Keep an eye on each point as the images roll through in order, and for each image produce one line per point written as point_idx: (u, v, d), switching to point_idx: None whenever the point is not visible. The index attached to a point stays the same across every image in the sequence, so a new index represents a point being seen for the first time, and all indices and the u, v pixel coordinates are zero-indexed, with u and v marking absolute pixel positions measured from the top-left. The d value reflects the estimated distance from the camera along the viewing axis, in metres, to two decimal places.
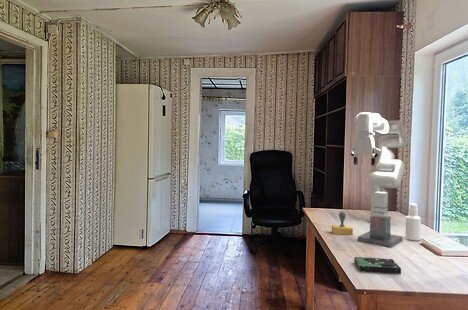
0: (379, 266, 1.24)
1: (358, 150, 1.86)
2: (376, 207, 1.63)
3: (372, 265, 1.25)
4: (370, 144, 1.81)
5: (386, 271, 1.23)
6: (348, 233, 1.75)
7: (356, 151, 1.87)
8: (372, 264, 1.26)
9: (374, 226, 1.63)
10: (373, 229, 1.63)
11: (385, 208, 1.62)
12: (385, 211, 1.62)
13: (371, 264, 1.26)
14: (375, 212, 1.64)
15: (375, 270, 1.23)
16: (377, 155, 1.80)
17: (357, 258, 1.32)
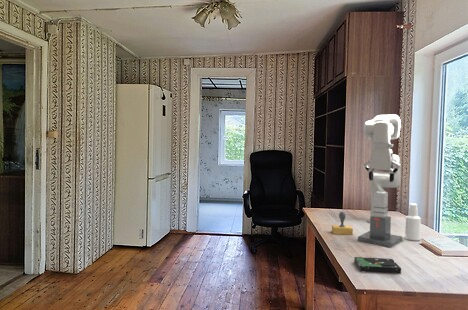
0: (379, 266, 1.24)
1: (374, 164, 1.64)
2: (376, 207, 1.63)
3: (372, 265, 1.25)
4: (388, 158, 1.59)
5: (386, 271, 1.23)
6: (348, 233, 1.75)
7: (372, 165, 1.65)
8: (372, 264, 1.26)
9: (374, 226, 1.63)
10: (373, 229, 1.63)
11: (385, 208, 1.62)
12: (385, 211, 1.62)
13: (371, 264, 1.26)
14: (375, 212, 1.64)
15: (375, 270, 1.23)
16: (396, 170, 1.58)
17: (357, 258, 1.33)
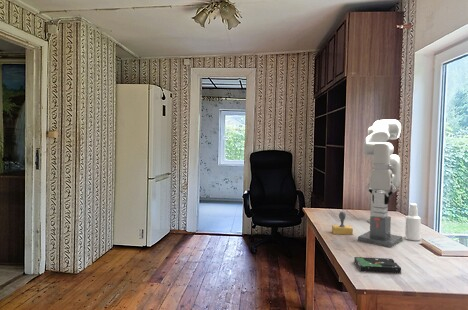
0: (379, 266, 1.24)
1: (374, 185, 1.64)
2: (376, 207, 1.63)
3: (372, 265, 1.25)
4: (388, 179, 1.60)
5: (386, 271, 1.23)
6: (348, 233, 1.75)
7: (371, 185, 1.65)
8: (372, 264, 1.26)
9: (374, 226, 1.63)
10: (373, 229, 1.63)
11: (385, 208, 1.62)
12: (385, 211, 1.62)
13: (371, 264, 1.26)
14: (375, 212, 1.64)
15: (375, 270, 1.24)
16: (391, 193, 1.61)
17: (357, 258, 1.33)
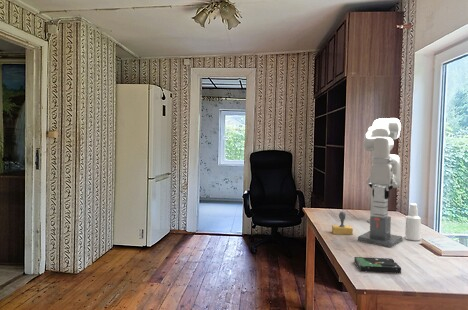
0: (379, 266, 1.24)
1: (374, 179, 1.64)
2: (377, 202, 1.63)
3: (372, 265, 1.25)
4: (388, 173, 1.60)
5: (386, 271, 1.23)
6: (348, 233, 1.75)
7: (371, 180, 1.65)
8: (372, 264, 1.26)
9: (374, 226, 1.63)
10: (373, 229, 1.63)
11: (385, 203, 1.62)
12: (385, 206, 1.62)
13: (371, 264, 1.26)
14: (375, 207, 1.64)
15: (375, 270, 1.24)
16: (391, 188, 1.60)
17: (357, 258, 1.33)
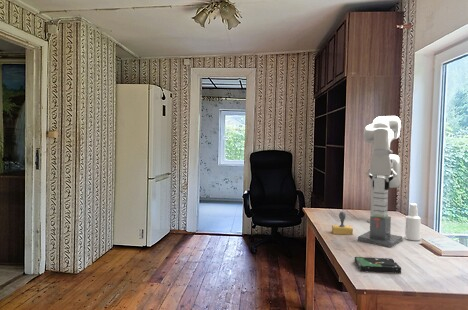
0: (379, 266, 1.24)
1: (374, 170, 1.64)
2: (377, 193, 1.63)
3: (372, 265, 1.25)
4: (388, 164, 1.60)
5: (386, 271, 1.23)
6: (348, 233, 1.75)
7: (372, 171, 1.65)
8: (372, 264, 1.26)
9: (374, 226, 1.63)
10: (373, 229, 1.63)
11: (385, 194, 1.62)
12: (385, 197, 1.62)
13: (371, 264, 1.26)
14: (375, 198, 1.64)
15: (375, 270, 1.24)
16: (391, 179, 1.60)
17: (357, 258, 1.33)
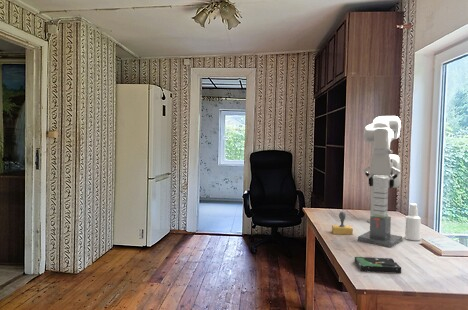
0: (380, 266, 1.24)
1: (374, 170, 1.64)
2: (377, 193, 1.63)
3: (373, 265, 1.25)
4: (388, 164, 1.60)
5: (387, 270, 1.23)
6: (348, 233, 1.75)
7: (372, 171, 1.65)
8: (372, 263, 1.26)
9: (374, 226, 1.63)
10: (373, 229, 1.63)
11: (385, 193, 1.62)
12: (385, 196, 1.62)
13: (371, 264, 1.26)
14: (375, 198, 1.64)
15: (376, 270, 1.24)
16: (396, 176, 1.59)
17: (357, 258, 1.33)
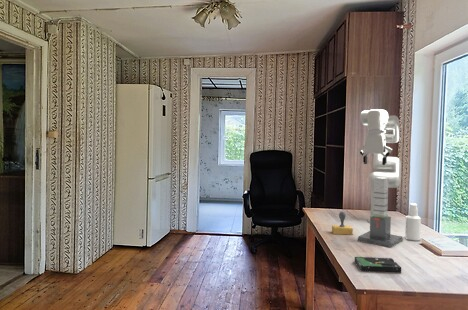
0: (380, 265, 1.25)
1: (368, 149, 1.77)
2: (377, 193, 1.63)
3: (373, 265, 1.25)
4: (381, 143, 1.72)
5: (387, 270, 1.23)
6: (348, 233, 1.75)
7: (366, 150, 1.78)
8: (372, 263, 1.27)
9: (374, 226, 1.63)
10: (373, 229, 1.63)
11: (385, 193, 1.62)
12: (385, 196, 1.62)
13: (372, 264, 1.26)
14: (375, 198, 1.64)
15: (376, 269, 1.24)
16: (388, 154, 1.72)
17: (357, 258, 1.33)
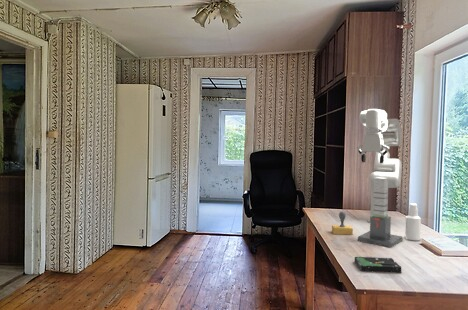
0: (380, 265, 1.25)
1: (366, 147, 1.81)
2: (377, 193, 1.63)
3: (373, 264, 1.25)
4: (379, 141, 1.77)
5: (387, 270, 1.24)
6: (348, 233, 1.75)
7: (364, 148, 1.82)
8: (372, 263, 1.27)
9: (374, 226, 1.63)
10: (373, 229, 1.63)
11: (385, 193, 1.62)
12: (385, 196, 1.62)
13: (372, 263, 1.26)
14: (375, 198, 1.64)
15: (376, 269, 1.24)
16: (386, 152, 1.76)
17: (357, 258, 1.33)
